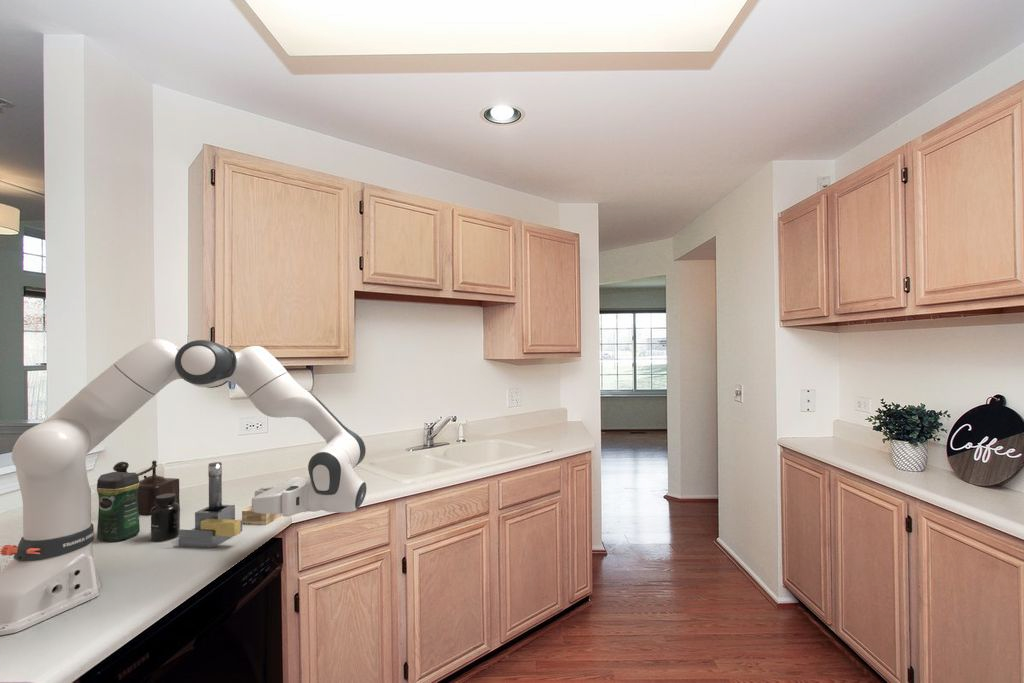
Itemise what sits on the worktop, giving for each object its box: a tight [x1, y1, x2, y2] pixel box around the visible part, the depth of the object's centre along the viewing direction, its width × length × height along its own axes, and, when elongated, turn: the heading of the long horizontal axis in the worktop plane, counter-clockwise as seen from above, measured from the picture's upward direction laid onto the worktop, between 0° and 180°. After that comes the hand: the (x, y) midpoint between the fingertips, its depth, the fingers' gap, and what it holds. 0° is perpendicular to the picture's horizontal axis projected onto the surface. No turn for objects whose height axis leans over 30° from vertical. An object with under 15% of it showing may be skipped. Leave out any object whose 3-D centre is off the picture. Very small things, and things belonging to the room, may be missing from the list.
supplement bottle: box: [150, 493, 181, 543], centre depth 140 cm, size 7×7×12 cm
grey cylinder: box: [207, 461, 223, 512], centre depth 141 cm, size 3×3×18 cm
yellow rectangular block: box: [201, 519, 241, 537], centre depth 134 cm, size 2×10×4 cm, turn 83°
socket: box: [178, 504, 243, 549], centre depth 139 cm, size 12×10×8 cm
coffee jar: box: [96, 471, 141, 542], centre depth 141 cm, size 10×8×19 cm
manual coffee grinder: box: [112, 460, 181, 516], centre depth 161 cm, size 16×11×18 cm
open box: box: [241, 505, 283, 526], centre depth 154 cm, size 8×8×4 cm
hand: (257, 492), depth 133 cm, fingers closed
